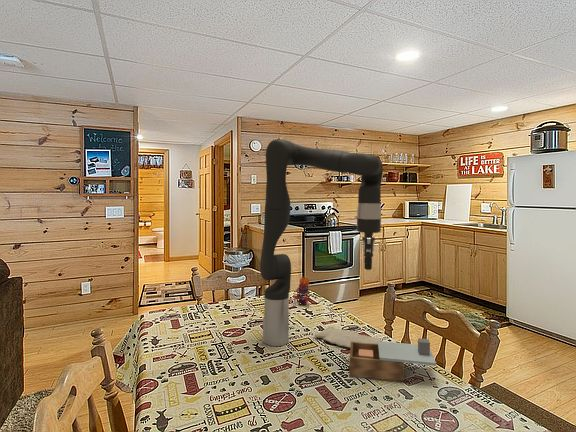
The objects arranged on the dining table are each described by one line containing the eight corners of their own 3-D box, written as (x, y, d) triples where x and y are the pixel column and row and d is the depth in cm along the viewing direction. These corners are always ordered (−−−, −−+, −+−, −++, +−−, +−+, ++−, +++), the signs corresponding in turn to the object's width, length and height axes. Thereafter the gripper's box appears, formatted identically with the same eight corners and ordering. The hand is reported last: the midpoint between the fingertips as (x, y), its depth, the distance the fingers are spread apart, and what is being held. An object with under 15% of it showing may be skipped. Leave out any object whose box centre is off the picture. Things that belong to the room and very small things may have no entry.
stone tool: (312, 342, 134) (374, 358, 120) (312, 332, 134) (374, 347, 119) (329, 332, 145) (388, 346, 130) (329, 322, 145) (388, 336, 130)
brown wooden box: (349, 376, 108) (349, 357, 107) (350, 358, 119) (350, 341, 119) (403, 382, 104) (404, 363, 104) (399, 363, 116) (399, 345, 116)
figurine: (291, 307, 171) (291, 277, 170) (294, 302, 180) (294, 273, 179) (308, 308, 170) (309, 278, 169) (310, 303, 179) (311, 274, 178)
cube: (358, 369, 111) (358, 355, 110) (358, 362, 115) (358, 349, 115) (373, 370, 110) (373, 356, 109) (372, 363, 114) (372, 350, 114)
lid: (379, 360, 105) (379, 344, 105) (377, 343, 117) (378, 329, 117) (436, 365, 102) (436, 349, 102) (428, 347, 114) (428, 333, 113)
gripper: (382, 219, 105) (380, 272, 106) (379, 215, 119) (378, 262, 120) (356, 218, 107) (355, 270, 108) (357, 215, 121) (356, 261, 122)
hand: (367, 266), depth 114 cm, fingers open, 8 cm apart
